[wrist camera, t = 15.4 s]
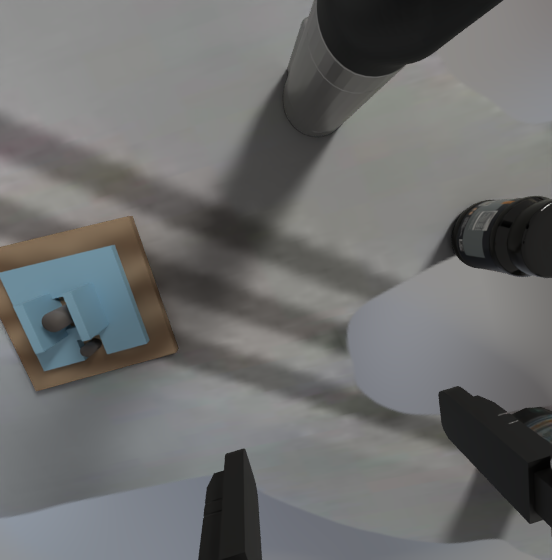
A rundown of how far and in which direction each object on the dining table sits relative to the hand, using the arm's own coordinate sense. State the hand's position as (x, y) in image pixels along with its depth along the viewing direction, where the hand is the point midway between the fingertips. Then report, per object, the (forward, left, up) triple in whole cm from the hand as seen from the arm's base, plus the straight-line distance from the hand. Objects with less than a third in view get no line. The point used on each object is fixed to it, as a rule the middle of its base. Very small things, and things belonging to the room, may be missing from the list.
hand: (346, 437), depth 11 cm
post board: (-3, -26, -33) cm, 42 cm away
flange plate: (-3, -26, -31) cm, 41 cm away
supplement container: (+2, +34, -33) cm, 48 cm away
